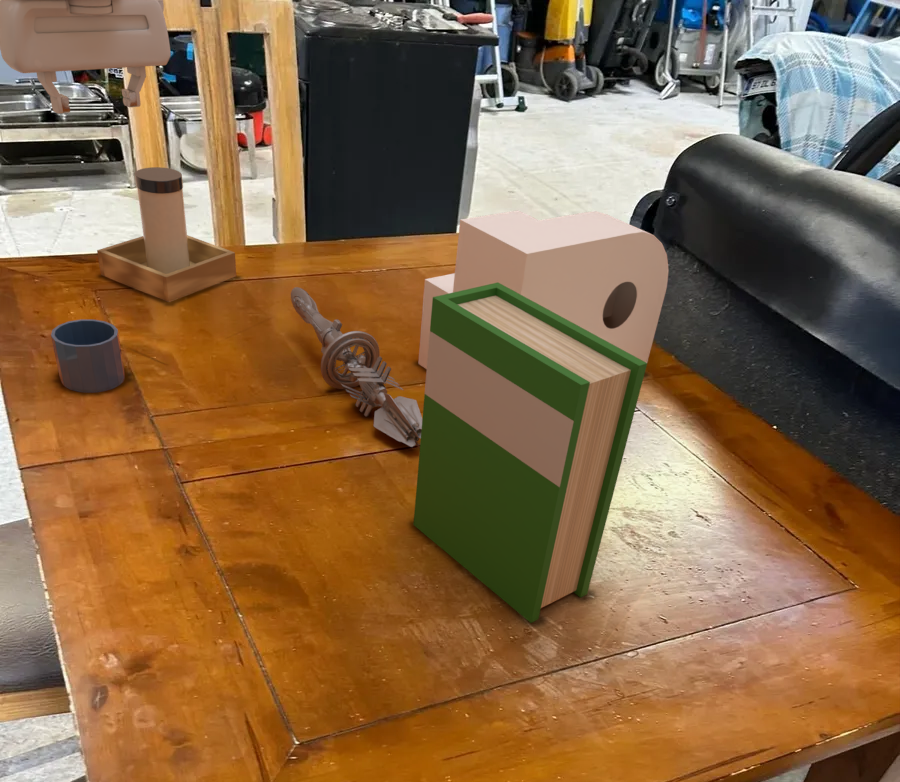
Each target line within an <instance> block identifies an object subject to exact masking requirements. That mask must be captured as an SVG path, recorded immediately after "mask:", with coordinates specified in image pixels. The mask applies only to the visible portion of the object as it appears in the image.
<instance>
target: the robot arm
mask: <svg viewBox="0 0 900 782" xmlns="http://www.w3.org/2000/svg"><path fill="white" fill-rule="evenodd" d="M164 5H165V4H164V0H0V54H1V57H2V60H3V62H5V64H6V65H8V67H9V68H10V69H12V70H14V71H16V72H18V73H20V74H36V77H37V80H38V81H39V83H40V84H41V86H42V87H43V89H44V90H45V91H46V93H47V94H48V95H49V98H50V104H51V105H50V106H51V109H52V111H53V112H54V113H56V114H58V115H59V114H70V113H71V107H70V99H69V96H67V95H64V94H62V93H60V91H59V90H58V89H57V87H56V86H55V84H54V83H57V82H58V79H57V72H71V71H87V70H89V71H90V70H104V69H122V68H123V69H124V68H126V72H127V73H128V74H130V76H129V77H130V78H129V80H128V84H127V87H126V88H122V89H121V95H122V97H123V98H122V103H123V105H124V107H125V106H126V107H127V108H140V107H141V105H142V104H141V95H140V92H141V91H142V88H143V86H144V83H145V80H146V78H147V73H146V72H147V71H146V67H157V66H166V65H167V64H168V62H169V61H170V59H171V54H172V53H171V45H170V38H169V32H168V27H167V23H166V19H165V14H164V10H165V6H164Z"/></svg>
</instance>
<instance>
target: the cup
mask: <svg viewBox="0 0 900 782" xmlns="http://www.w3.org/2000/svg"><path fill="white" fill-rule="evenodd" d="M50 337H51V338H50V339H51V342H52V347H53V353H54V357H55V362H56V366H57V373H58V376H59V380H60V382H61V384H62V385H63V386H64V387H65V388H66V389H68V390H70V391H74V392H77V393H87V394H88V393H89V394H90V393H91V394H92V393H102V392H106V391H110V390H113V389H115V388H117V387H119V386H120V385H121V384H122V383H124V381H125V378H126V377H125V367H124V359H123V353H122V347H121V340H120V334H119V329H118V328H117V327H116V326H115V325H114V324H112V323H110V322H108V321H105V320H99V319H93V318H92V319H89V318H87V319H86V318H85V319H83V318H82V319H75V320H69V321H66V322H63V323H61V324H58V325H57V326H56V327H54V328H53V329H52V330H51V334H50Z"/></svg>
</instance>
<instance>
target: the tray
mask: <svg viewBox="0 0 900 782" xmlns="http://www.w3.org/2000/svg"><path fill="white" fill-rule="evenodd" d="M187 241H188V251H189V261H190V266H188V267H185V268H182V269H179V270H176V271H174V272H171V273H168V274H164V273H162V272H159V271H157V270H154V269H152V268H149V267H147V260H146V252H145V244H144V236H143V235H142V236H138V237H135V238H132V239H129V240H126V241H122V242H119V243H116V244H113V245H109V246H107V247H102V248H100V249H97V250H96V254H97V259H98V265H99V266H98V267H99V271H100V275H101V276H103V277H105V278H107V279H110V280H113V281H115V282H117V283H120V284H122V285H125V286H128V287H130V288H132V289H134V290H137V291H140V292H143V293H145V294H147V295H149V296H151V297H155V298H157V299H160V300H162V301H165V302H167V303H171V302H173V301H176V300H178V299H181V298H183V297H186V296H189V295H192V294H194V293H197V292H200V291H202V290H205V289H207V288H210V287H212V286H215V285H218V284H220V283H223V282H225V281H228V280H231V279H233V278H235V277H237V264H236V252H235V251H232V250H230V249H226V248H224V247H221V246H219V245H215V244H212V243H210V242H207V241H205V240H202V239H199V238H197V237H193V236H191V235H188V234H187Z"/></svg>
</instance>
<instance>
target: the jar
mask: <svg viewBox="0 0 900 782" xmlns="http://www.w3.org/2000/svg"><path fill="white" fill-rule="evenodd" d="M134 179H135V187H136V189H137V196H138V204H139V211H140V212H139V213H140V221H141V227H142V228H141V229H142V236H144V244H145V252H146V260H147V267H149V268H152V269H154V270H157V271H159V272H162V273H164V274H168V273H171V272H174V271H176V270H179V269H182V268H185V267H188V266H190V261H189V251H188V241H187V235H188V232H187V219H186V210H185V199H184V189H183V188H184V182H183V174H182V173H181V172H180V171H178V170H177V169H173V168H169V167H162V166H161V167H159V166H158V167H157V166H156V167H144V168H140V169H137V170H136V171H135V172H134Z"/></svg>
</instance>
